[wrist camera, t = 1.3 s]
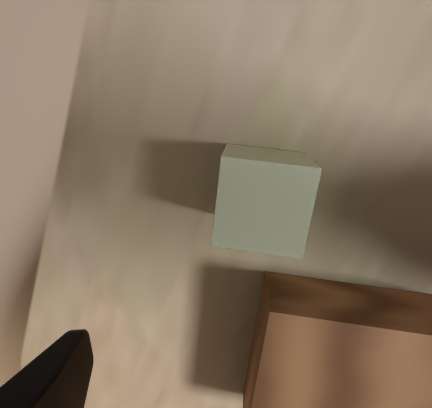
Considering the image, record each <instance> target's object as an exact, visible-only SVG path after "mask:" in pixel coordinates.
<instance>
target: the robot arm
mask: <svg viewBox="0 0 432 408" xmlns="http://www.w3.org/2000/svg"><path fill="white" fill-rule="evenodd" d="M92 368H93V352H92V347H91V342H90V337H89V333H88V331H87V330H85V329H80V330H70V331H68V332H66V333H65V334H64V335H63V336H61V337H60V338H59V339H58V340H57V341H55V342H54V343H53V344H52V345H51V346H49V347H48V348H47V349H46V350H45V351H43V352H42V353H41V354H40V355H39V356H37V357H36V358H35V359H34V360H33V361H31V362H30V363H29V364H28V365H27V366H25V367H24V368H23V369H22V370H21V371H19V372H18V373H17V374H16V375H15V376H13V377H12V378H11V379H10V380H9V381H7V382H6V383H5V384H4V385H2V386H1V387H0V408H84V404H85V400H86V395H87V391H88V386H89V381H90V377H91V372H92Z"/></svg>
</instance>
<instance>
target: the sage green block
mask: <svg viewBox="0 0 432 408" xmlns="http://www.w3.org/2000/svg"><path fill="white" fill-rule="evenodd" d="M321 172H322V168H321V167H320V166H319V165H318V164H317V163H316V162H314V161H313V160H312V159H311V158H310V157H309V156H308V155H307V154H306V153H303V152H294V151H286V150H277V149H269V148H260V147H252V146H243V145H235V144H227V145H226V147H225V149H224V151H223V153H222V155H221V161H220V170H219V179H218V189H217V198H216V207H215V216H214V225H213V234H212V244H211V247H218V248H226V249H233V250H240V251H248V252H255V253H263V254H270V255H277V256H285V257H292V258H299V259H303V255H304V251H305V246H306V242H307V237H308V232H309V228H310V223H311V218H312V214H313V209H314V205H315V200H316V195H317V191H318V186H319V182H320V177H321Z"/></svg>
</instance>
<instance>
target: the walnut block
mask: <svg viewBox="0 0 432 408" xmlns="http://www.w3.org/2000/svg"><path fill="white" fill-rule="evenodd" d="M243 408H432V295H430V294H423V293H416V292H409V291H402V290H394V289H387V288H380V287H373V286H366V285H359V284H352V283H345V282H337V281H330V280H323V279H316V278H309V277H302V276H295V275H288V274H281V273H273V272H266V271H265V275H264V281H263V287H262V292H261V298H260V303H259V309H258V315H257V320H256V326H255V331H254V337H253V343H252V348H251V354H250V359H249V365H248V371H247V376H246V382H245V388H244V393H243Z"/></svg>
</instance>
